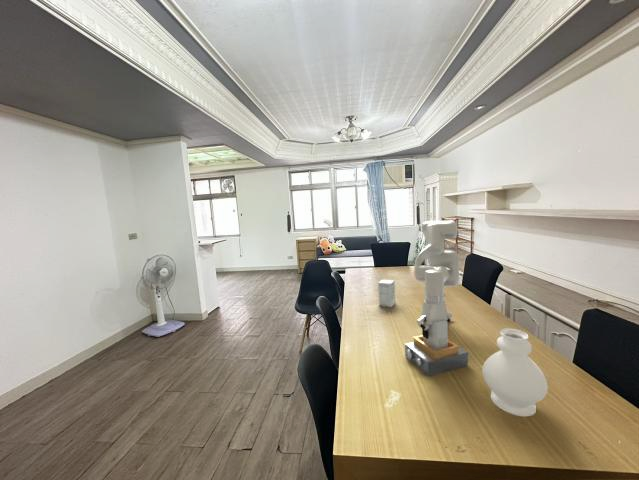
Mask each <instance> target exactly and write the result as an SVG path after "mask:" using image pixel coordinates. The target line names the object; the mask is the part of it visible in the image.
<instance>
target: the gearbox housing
mask: <svg viewBox="0 0 639 480" xmlns="http://www.w3.org/2000/svg"><path fill="white" fill-rule="evenodd" d="M404 352H405V353H404V356H405V358H407V360H409V361H411V363H413V364H414V366H416V367H417V369H420V370H421V371H422V373H424V374H425V375H426V376H427V377H429V376H434V375H438V374H442V373H445V372H448V371H452V370H456V369H459V368H460V369H461V368H463V367H467V366H469V352H468V351H467V350H465V349H463V348H462V347H460V346H459V345H457V344H456V343H454V342H452V341H451V340H449V339H448V347H447V348H443V349H439V350H434V349H432V348H431V347H429V346H428V345H427V344H425V343H424V342H423V335H422V334H420V335H417V336H413V341H411V342H406V343H404Z"/></svg>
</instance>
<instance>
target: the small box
mask: <svg viewBox="0 0 639 480" xmlns="http://www.w3.org/2000/svg"><path fill="white" fill-rule="evenodd" d="M426 325H427V324H426ZM426 325H425V326H426ZM427 330H428V333H429V338H428V339H426V338H425V337H423V342H424V343H425V344H427V345H428V346H429V347H431V348H432V349H434V350H439V349H443V348H447V347H448V340H449V338H448V337H449V335H448V333H449V332H448V330H449V329H448V326H447V321H439V322H435V323H433V325H430V326H429V327H428V329H427Z"/></svg>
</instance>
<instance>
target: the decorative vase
mask: <svg viewBox="0 0 639 480" xmlns="http://www.w3.org/2000/svg"><path fill="white" fill-rule="evenodd" d="M528 340H529V335H528V333H526V332H524V331H523V330H519V329H516V328H503V329H501V330H500V336H499V337H498V338H497V340H496V344H497V346H498V348H499V349H500V350H498V351H496V352H494V353H492V354H491V355H490V356H489V357H488V358H487V359H486V360H485V362H484V363H483V365H482V371H481V372H482V378H483V381H484V382H485V384H486V385H487V387H489V389H490V390H491V392H490V399H491V401H492V402H493V404H494V405H495V406H497V408H499V409H500V410H502V411H504V412H505V413H508V414H510V415H513V416H518V417H531V416H534V415H535V414H536V412H537V405H536V403H538V402H540V401H542V400H544V398H545V397H546V396H547V393H548V381H547V378H546V377H545V375H544V373H543V371H542V370H541V368H539V366H538V365H537V364H536V363H535V361H533V360H532V359H531V358H530V357H529V356H528V355H529V354H531V353H532V351H533V347H532V345H531V343H530V342H529V341H528Z"/></svg>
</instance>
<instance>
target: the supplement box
mask: <svg viewBox="0 0 639 480" xmlns="http://www.w3.org/2000/svg"><path fill="white" fill-rule="evenodd" d="M395 284H396V283H395V280H391V279H381V280H380V281H378V282H377V288H378V289H377V290H378V291H377V292H378V306H379V305H381V307H386V306H387V307H388V308H392V307H394V305H396V303H397V301H396V285H395Z"/></svg>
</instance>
